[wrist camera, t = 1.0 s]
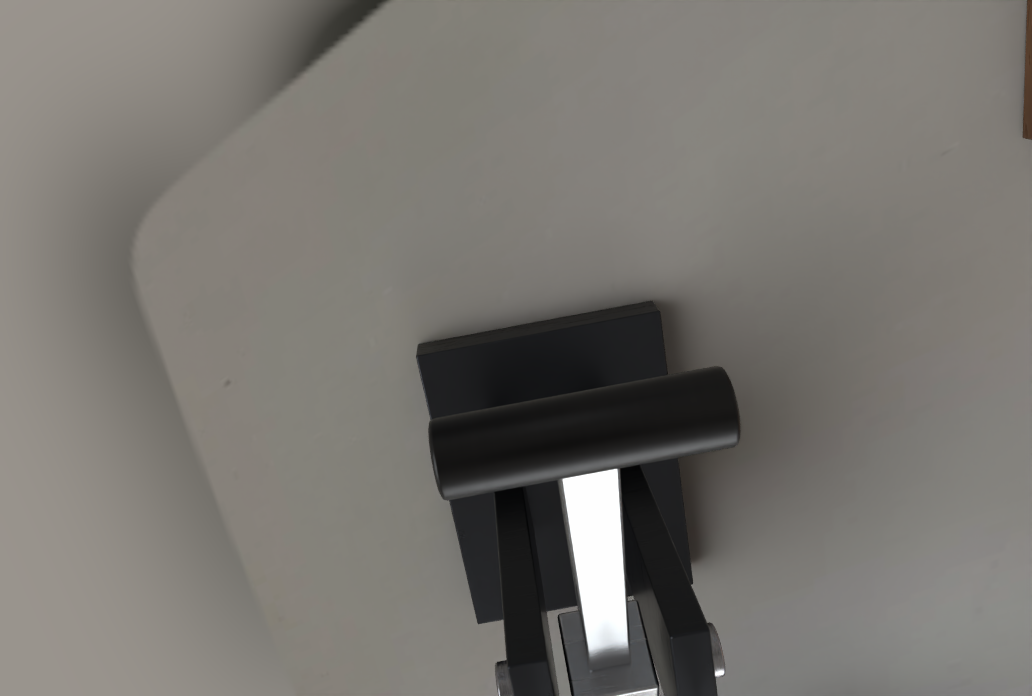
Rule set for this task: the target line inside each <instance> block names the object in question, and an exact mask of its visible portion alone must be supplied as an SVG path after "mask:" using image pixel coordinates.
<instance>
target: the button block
mask: <svg viewBox="0 0 1032 696" xmlns="http://www.w3.org/2000/svg"><path fill="white" fill-rule="evenodd" d="M1023 138H1026V139H1031V140H1032V0H1027V26H1026V57H1025V87H1024V118H1023Z"/></svg>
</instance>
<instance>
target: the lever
mask: <svg viewBox="0 0 1032 696" xmlns="http://www.w3.org/2000/svg"><path fill="white" fill-rule="evenodd" d="M428 433H429V445H430V453H431V459H432V465H433V470H434V475H435V479H436V483H437V487H438V490H439V492H440V495H441V496H442V498H443V499H444V500H453V499H458V498H463V497H469V496H474V495H480V494H485V493H490V492H496V491H501V490H506V489H512V488H517V487H523V486H528V485H533V484H539V483H544V482H549V481H555V480H557V481H558V487H559V494H560V500H561V506H562V512H563V519H564V525H565V531H566V537H567V544H568V550H569V556H570V562H571V569H572V575H573V581H574V587H575V594H576V600H577V606H578V610H577V611H572V612H567V613H561V614H559V615H558V623H559V628H560V634H561V639H562V645H563V651H564V656H565V662H566V667H567V673H568V679H569V684H570V690H571V695H572V696H659V683H658V679H657V675H656V671H655V667H654V663H653V659H652V655H651V651H650V647H649V642H648V638H647V634H646V630H645V626H644V622H643V618H642V614H641V610H640V606H639V602H638V601H637V600H631V601H628V598H627V581H626V564H625V547H624V530H623V512H622V495H621V478H620V468H625V467H630V466H635V465H641V464H646V463H652V462H657V461H662V460H668V459H673V458H679V457H684V456H689V455H695V454H700V453H705V452H711V451H716V450H722V449H727V448H732V447H735V446H736V445H738V443H739V440H740V416H739V409H738V404H737V400H736V396H735V392H734V389H733V386H732V384H731V381H730V379H729V377H728V375H727V373H726V372H725V370H724V369H723V368H722V367H719V366H714V367H708V368H703V369H697V370H692V371H687V372H681V373H676V374H671V375H665V376H660V377H654V378H649V379H644V380H638V381H633V382H628V383H622V384H617V385H611V386H606V387H601V388H595V389H590V390H585V391H579V392H574V393H568V394H563V395H558V396H552V397H547V398H542V399H536V400H531V401H525V402H520V403H515V404H509V405H504V406H499V407H493V408H488V409H482V410H477V411H472V412H466V413H461V414H456V415H450V416H445V417H439V418H434V419H432V420H431V421H430V422H429V429H428Z"/></svg>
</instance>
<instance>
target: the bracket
mask: <svg viewBox="0 0 1032 696" xmlns="http://www.w3.org/2000/svg"><path fill="white" fill-rule="evenodd" d="M416 358H417V363H418V367H419V371H420V376H421V380H422V384H423V389H424V393H425V397H426V402H427V406H428V410H429V415H430V419H431V420H432V419H434V418H439V417H445V416H450V415H456V414H461V413H466V412H472V411H477V410H482V409H488V408H493V407H499V406H504V405H509V404H515V403H520V402H525V401H531V400H536V399H542V398H547V397H552V396H558V395H563V394H568V393H574V392H579V391H585V390H590V389H595V388H601V387H606V386H611V385H617V384H622V383H628V382H633V381H638V380H644V379H649V378H654V377H660V376H665V375H668V372H667V364H666V356H665V347H664V339H663V331H662V323H661V314H660V311H659V309H658V308H657V306H656V305H655V304H654V302H653V301H649V302H643V303H638V304H633V305H627V306H622V307H616V308H611V309H606V310H600V311H595V312H590V313H584V314H579V315H573V316H568V317H563V318H557V319H552V320H547V321H541V322H536V323H530V324H525V325H520V326H514V327H509V328H504V329H498V330H493V331H488V332H482V333H477V334H471V335H466V336H461V337H455V338H450V339H445V340H439V341H434V342H428V343H423V344H418V347H417V355H416ZM620 478H621V495H622V512H623V530H624V547H625V564H626V581H627V596H634V600H637V601H638V602H639V606H640V610H641V614H642V618H643V622H644V626H645V630H646V634H647V638H648V642H649V647H650V651H651V654H652V657H653V661H654V664H655V667H656V670H657V673H658V677H659V680H660V683H661V686H662V689H663V693H664V696H718V694H717V686H716V678H718V677H723V676H724V675H725V662H724V656H723V651H722V647H721V643H720V640H719V637H718V634H717V631H716V629H715V627H714V625H713V624H712V623H710V622H709V623H707V622H706V619H705V617H704V614H703V612H702V610H701V607H700V605H699V603H698V600H697V598H696V596H695V593H694V591H693V588H692V586H691V585H692V584H693V578H692V570H691V562H690V553H689V545H688V537H687V529H686V520H685V512H684V504H683V496H682V487H681V479H680V471H679V463H678V458H673V459H668V460H662V461H657V462H652V463H646V464H641V465H635V466H630V467H625V468H620ZM449 501H450V506H451V510H452V514H453V519H454V523H455V527H456V532H457V536H458V540H459V545H460V549H461V553H462V558H463V562H464V566H465V571H466V575H467V579H468V584H469V588H470V592H471V597H472V601H473V605H474V610H475V614H476V618H477V623H478V624H482V623H487V622H493V621H498V620H503V619H504V632H505V645H506V658H507V660H505V661H500V662H497V663H496V664H495V675H496V683H497V690H498V696H559V690H558V684H557V677H556V670H555V664H554V657H553V651H552V644H551V638H550V631H549V625H548V618H547V612H546V611H552V610H557V609H563V608H568V607H573V606H577V600H576V594H575V587H574V581H573V575H572V569H571V562H570V556H569V550H568V544H567V537H566V531H565V525H564V519H563V512H562V506H561V500H560V494H559V487H558V481H557V480H555V481H549V482H544V483H539V484H533V485H528V486H523V487H517V488H512V489H506V490H501V491H496V492H490V493H485V494H480V495H474V496H469V497H463V498H458V499H453V500H449Z"/></svg>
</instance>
